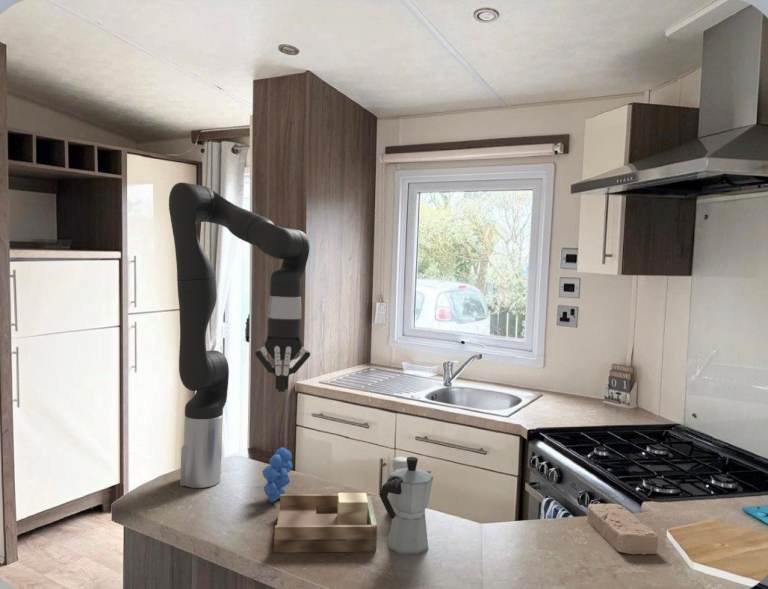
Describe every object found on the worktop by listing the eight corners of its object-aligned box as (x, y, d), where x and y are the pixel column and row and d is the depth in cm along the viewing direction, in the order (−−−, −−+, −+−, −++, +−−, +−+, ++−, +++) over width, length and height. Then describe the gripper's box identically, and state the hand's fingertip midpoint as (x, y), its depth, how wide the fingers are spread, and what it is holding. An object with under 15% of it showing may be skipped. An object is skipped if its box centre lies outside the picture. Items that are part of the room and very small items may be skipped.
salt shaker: (381, 515, 127) (384, 459, 127) (393, 506, 132) (395, 452, 132) (404, 521, 124) (407, 464, 124) (415, 512, 130) (418, 457, 129)
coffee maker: (413, 527, 122) (417, 446, 121) (444, 543, 115) (449, 457, 115) (362, 549, 111) (366, 460, 110) (394, 567, 105) (398, 473, 104)
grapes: (272, 487, 140) (274, 440, 140) (297, 491, 139) (299, 443, 138) (249, 505, 129) (251, 454, 129) (276, 509, 127) (278, 458, 127)
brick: (584, 520, 130) (585, 500, 130) (619, 520, 131) (620, 501, 131) (619, 557, 114) (621, 535, 114) (659, 557, 115) (660, 535, 114)
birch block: (337, 526, 115) (338, 502, 115) (337, 515, 120) (338, 492, 120) (366, 526, 116) (367, 502, 116) (364, 515, 121) (366, 492, 121)
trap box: (273, 552, 108) (274, 527, 108) (279, 516, 124) (280, 494, 124) (376, 551, 111) (377, 526, 110) (368, 515, 127) (370, 494, 126)
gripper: (314, 315, 132) (310, 388, 132) (257, 313, 130) (254, 387, 131) (313, 318, 124) (310, 395, 125) (253, 316, 123) (250, 394, 123)
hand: (281, 391), depth 128 cm, fingers closed
